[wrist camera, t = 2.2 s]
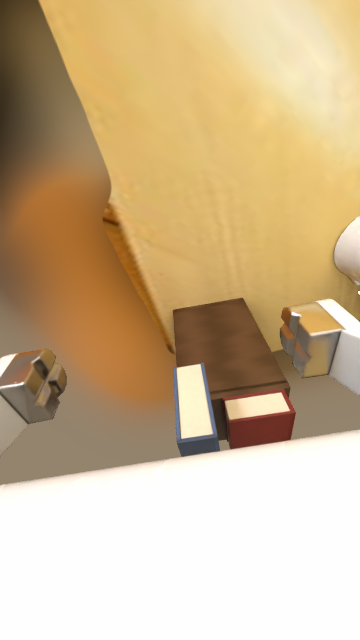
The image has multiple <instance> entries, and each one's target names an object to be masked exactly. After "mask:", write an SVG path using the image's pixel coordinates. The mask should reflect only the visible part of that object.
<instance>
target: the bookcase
mask: <svg viewBox="0 0 360 640" xmlns="http://www.w3.org/2000/svg"><path fill="white" fill-rule="evenodd" d="M173 316H174V331H175V346H176V361H177V368H179V367H185V366H191V365H198V364H201V363H204V368H205V373H206V378H207V383H208V388H209V394H210V399H211V404H212V409H213V414H214V420H215V425H216V430H217V435H218V441H219V440H226V439H227V436H226V426H225V416H224V406H223V398H226V397H232V396H239V395H245V394H252V393H258V392H265V391H271V390H278V389H284V390H285V392H286V394H287V396H288V398H289V393H290V386H289V384H288V382H287V380H286V379H285V377H284V375H283V373H282V371H281V369H280V367H279V365H278V363H277V362H276V360H275V358H274V356H273V354H272V352H271V350H270V348H269V347H268V345H267V343H266V341H265V339H264V337H263V335H262V333H261V332H260V330H259V328H258V326H257V324H256V322H255V320H254V318H253V317H252V315H251V313H250V311H249V309H248V307H247V305H246V303H245V302H244V300H243V298H240V299H234V300H228V301H222V302H216V303H211V304H205V305H199V306H193V307H187V308H182V309H176V310H173Z"/></svg>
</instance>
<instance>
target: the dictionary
mask: <svg viewBox="0 0 360 640" xmlns="http://www.w3.org/2000/svg"><path fill="white" fill-rule="evenodd" d="M223 406H224V416H225V426H226V436H227V441H229V446H230V449H237V448H243V447H250V446H256V445H263V444H269V443H276V442H282V441H289V440H291V435H292V429H293V424H294V419H295V414H296V412H295V410H294V408H293V406H292V404H291V403H290V400H289V398H288V396H287V394H286V392H285V390H284V389H278V390H271V391H265V392H258V393H252V394H245V395H239V396H232V397H226V398H223Z"/></svg>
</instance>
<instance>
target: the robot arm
mask: <svg viewBox="0 0 360 640" xmlns="http://www.w3.org/2000/svg"><path fill="white" fill-rule="evenodd" d="M334 262H335V265H336V267H337V268H338V270H339V271H341V272H342V273H344V274H346V275H348V276H349V277H350V279H351V280H352V282H353V283H354V284H356V285H360V216H359V217H357V218H356V219H355V220H354V221H353V222H351V223H350V224H349V226H348V227H347V228H346V229H345V230H344V232H343V233H342V234H341V236H340V238H339V240H338V242H337V244H336V247H335V251H334ZM359 294H360V291H359ZM281 318H282V319H283V321H284V322H285V323H284V324H283V326H282V327H281V328H280V339H281V344H282V346H283V349H284V351H285V352H286V354H288V355H289V356H291V357H293V363H292V364H293V365H294V367H295V368H296V370H297V372H298V373H299V375H300V376H301V378H308V377H316V376H323V375H329V376H330V377H331V378H333V379H334V380H336V381H337V382H339V383H341V384H342V385H344V386H345V387H347V388H349V389H350V390H352V391H353V392H355V393H356V394H358V395H360V322H359V321H358V320H357V319H355V318H354V317H353V316H352V315H351V314H350V313H348V312H347V311H346V310H345V309H344V308H343V307H341V306H340V305H339V304H338V303H337V302H336V301H334V300H333V299H325V300H320V301H315V302H312V303H307V304H301V305H296V306H290V307H285V308H283V311H282V316H281ZM55 359H56V356H55V355H54V353H53V352H52V350H49V349H44V350H37V351H30V352H24V353H19V354H12V355H6V356H4V357H2V358H1V359H0V457H1V456H2V454H3V453H4V452H5V451H6V450H7V449H8V448H9V446H10V445H11V444H12V443H13V442H14V441H15V440H16V439H17V437H18V436H19V435H20V434H21V433H22V432H23V431H24V430H25V428H27V426H28V424H31V423H36V422H41V421H46V420H51V419H53V418H54V415H55V413H56V410H57V408H58V405H59V403H60V402H59V400H58V397H59V396H60V394H62V393H63V392H64V390H65V387H66V380H67V376H66V373H65V370H64V369H63V367H62V366H61V365H59V364H58V363H56V362H55ZM0 640H360V430H353V431H347V432H340V433H334V434H327V435H321V436H315V437H308V438H302V439H295V440H289V441H282V442H276V443H269V444H263V445H256V446H250V447H243V448H237V449H230V450H225V451H218V452H211V453H205V454H198V455H192V456H185V457H179V458H172V459H166V460H160V461H153V462H147V463H140V464H134V465H128V466H121V467H115V468H108V469H102V470H95V471H89V472H82V473H76V474H69V475H63V476H57V477H50V478H44V479H37V480H31V481H25V482H18V483H11V484H5V485H0Z"/></svg>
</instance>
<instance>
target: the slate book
mask: <svg viewBox="0 0 360 640" xmlns="http://www.w3.org/2000/svg"><path fill="white" fill-rule="evenodd" d="M173 374H174V393H175V412H176V413H175V414H176V434H177V445H178V448H179V450H180V453H181V456H182V457H185V456H192V455H198V454H205V453H211V452H218V451H220V449H219V442H218V435H217V430H216V425H215V420H214V414H213V409H212V404H211V399H210V394H209V388H208V383H207V378H206V373H205V368H204V363H201V364H198V365H191V366H185V367H179V368H176V367H173Z"/></svg>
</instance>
